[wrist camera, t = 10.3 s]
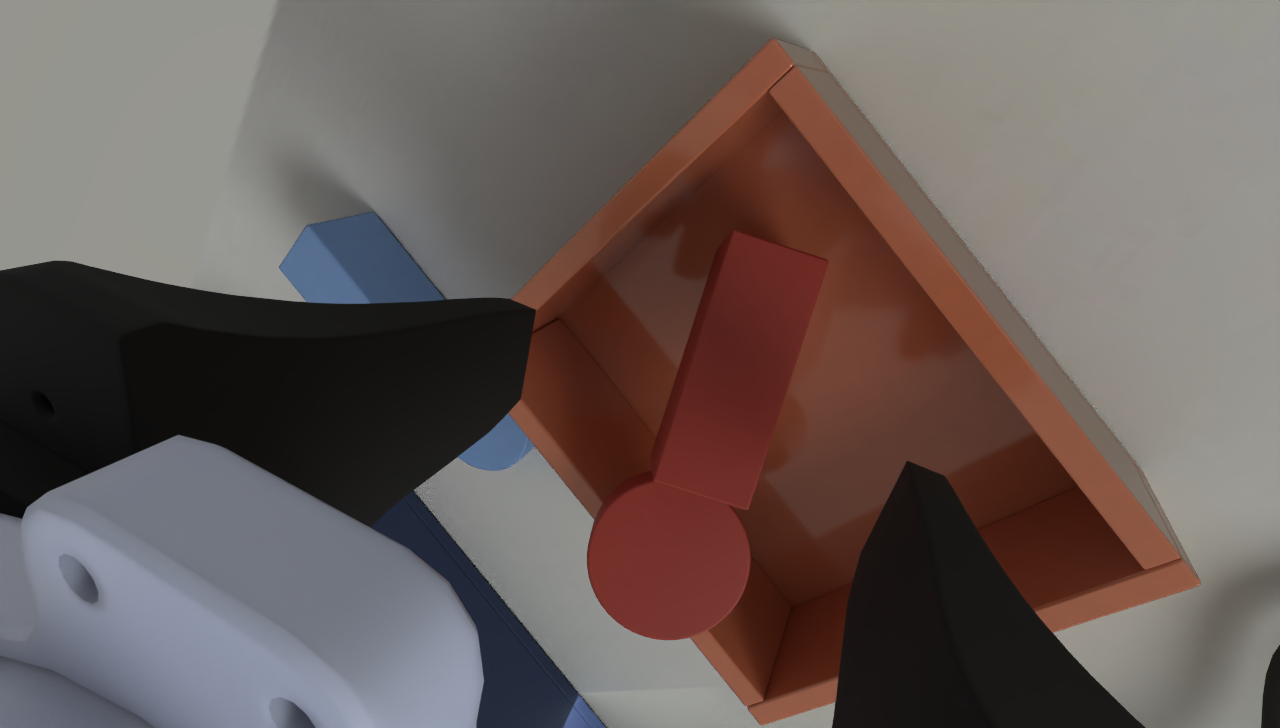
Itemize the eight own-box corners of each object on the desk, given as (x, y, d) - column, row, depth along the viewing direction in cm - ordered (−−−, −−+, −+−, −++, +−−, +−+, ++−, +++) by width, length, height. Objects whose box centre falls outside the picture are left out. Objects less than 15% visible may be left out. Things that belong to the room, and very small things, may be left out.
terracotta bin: (543, 307, 19) (456, 351, 16) (813, 50, 14) (772, 35, 11) (793, 618, 20) (760, 727, 16) (1144, 472, 15) (1204, 586, 11)
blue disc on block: (334, 265, 22) (266, 283, 20) (387, 193, 20) (318, 204, 18) (502, 471, 22) (453, 513, 20) (569, 419, 20) (523, 459, 18)
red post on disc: (684, 237, 16) (693, 215, 13) (831, 284, 16) (869, 272, 13) (571, 592, 16) (558, 641, 13) (715, 637, 16) (731, 695, 13)
